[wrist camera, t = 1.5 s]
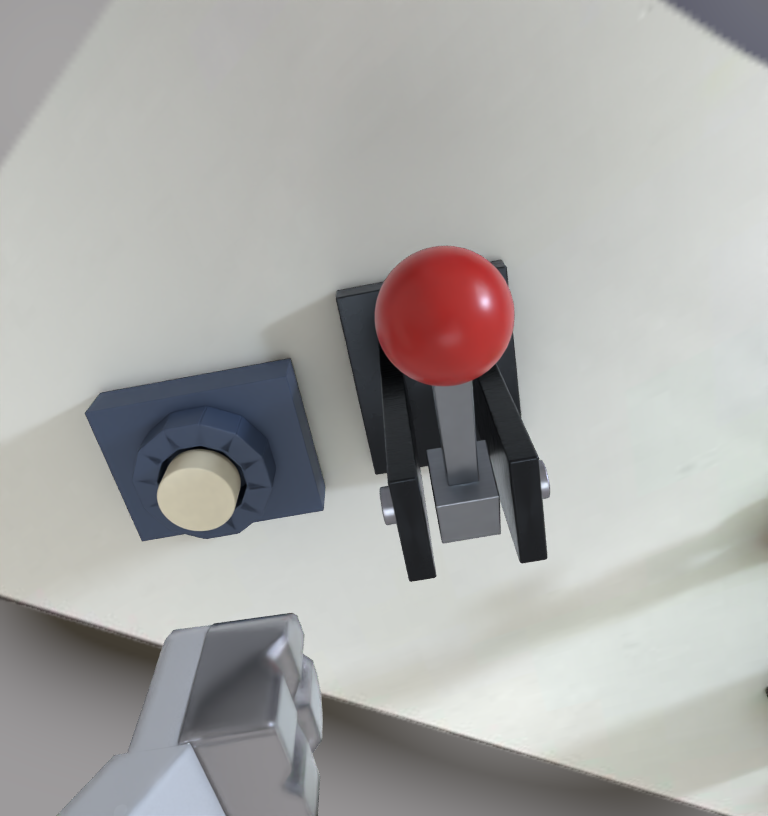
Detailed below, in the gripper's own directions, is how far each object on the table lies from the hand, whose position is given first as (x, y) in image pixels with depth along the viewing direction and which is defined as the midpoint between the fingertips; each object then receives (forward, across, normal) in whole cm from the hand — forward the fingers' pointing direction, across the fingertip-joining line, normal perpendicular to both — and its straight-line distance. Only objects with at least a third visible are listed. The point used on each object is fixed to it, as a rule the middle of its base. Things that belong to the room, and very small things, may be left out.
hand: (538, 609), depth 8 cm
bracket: (+25, 0, +8) cm, 26 cm away
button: (+21, +12, +10) cm, 27 cm away
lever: (+14, 0, +3) cm, 14 cm away
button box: (+25, +12, +10) cm, 30 cm away
